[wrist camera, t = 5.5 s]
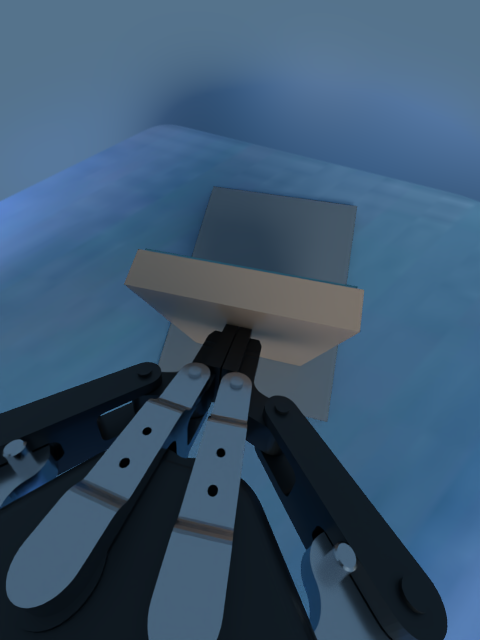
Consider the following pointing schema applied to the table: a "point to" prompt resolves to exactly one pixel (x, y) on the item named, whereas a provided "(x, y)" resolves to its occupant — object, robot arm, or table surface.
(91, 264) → the table surface
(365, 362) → the table surface
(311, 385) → the mat
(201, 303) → the tile
